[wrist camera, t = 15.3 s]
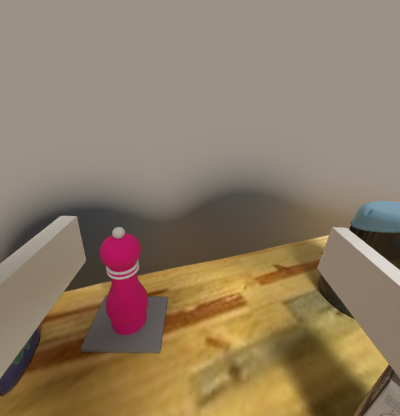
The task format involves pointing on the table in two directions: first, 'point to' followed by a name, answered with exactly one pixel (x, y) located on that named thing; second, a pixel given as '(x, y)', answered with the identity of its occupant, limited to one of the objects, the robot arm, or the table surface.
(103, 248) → the pepper mill
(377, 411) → the coffee box
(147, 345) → the charcoal mat
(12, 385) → the flask
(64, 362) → the table surface
